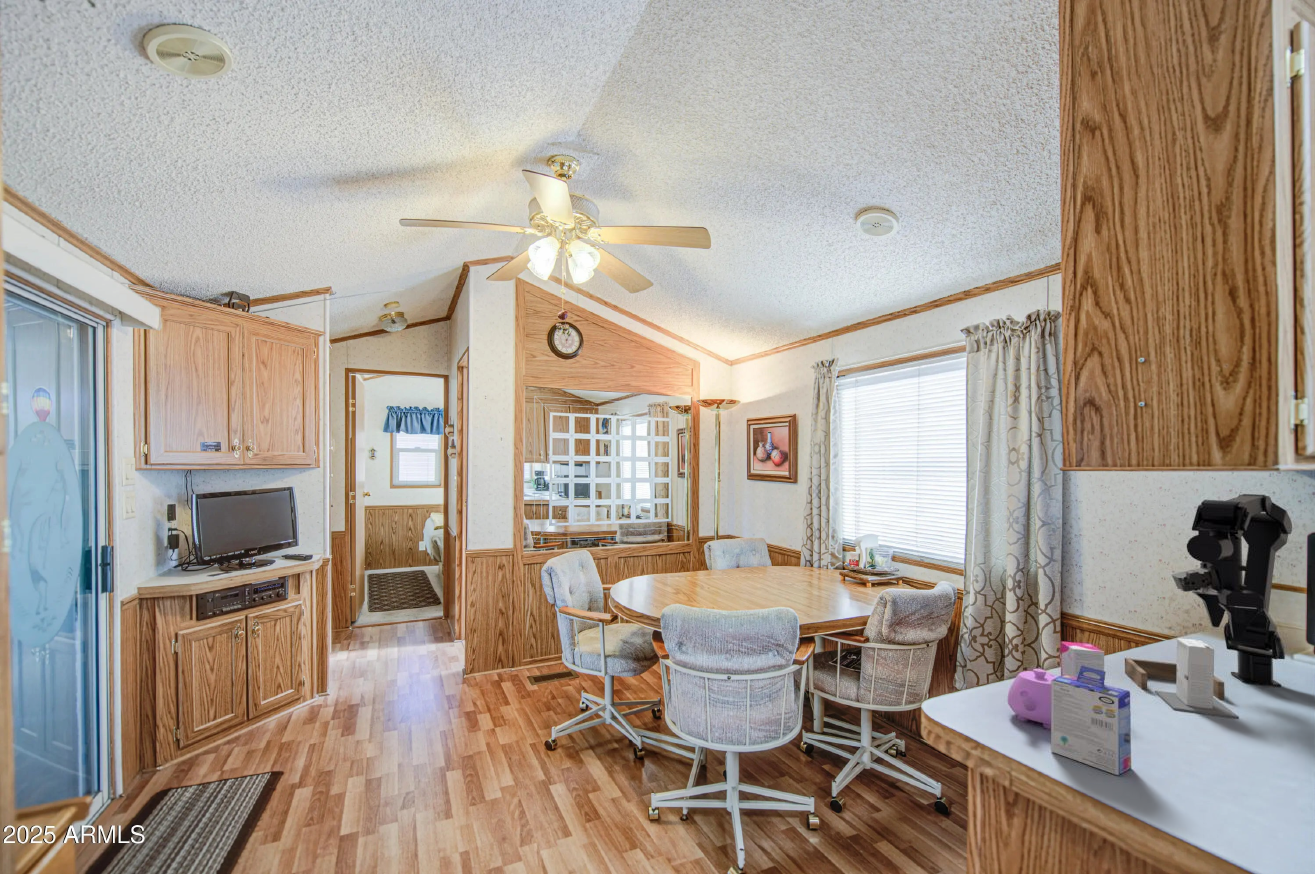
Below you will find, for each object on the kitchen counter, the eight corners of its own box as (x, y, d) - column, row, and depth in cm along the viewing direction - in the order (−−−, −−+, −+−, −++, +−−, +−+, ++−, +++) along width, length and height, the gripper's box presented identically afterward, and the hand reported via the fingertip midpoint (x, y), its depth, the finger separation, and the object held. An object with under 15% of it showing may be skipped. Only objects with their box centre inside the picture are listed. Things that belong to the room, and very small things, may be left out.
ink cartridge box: (1133, 767, 97) (1132, 675, 97) (1121, 777, 93) (1119, 682, 94) (1063, 743, 105) (1062, 658, 105) (1050, 752, 101) (1049, 664, 102)
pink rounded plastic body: (1084, 720, 115) (1083, 670, 115) (1055, 742, 105) (1054, 688, 106) (1023, 702, 123) (1023, 656, 123) (992, 721, 113) (991, 671, 114)
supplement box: (1106, 709, 120) (1105, 651, 120) (1072, 707, 121) (1071, 648, 121) (1091, 698, 125) (1090, 642, 126) (1059, 696, 126) (1058, 640, 127)
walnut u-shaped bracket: (1124, 672, 141) (1124, 657, 141) (1201, 682, 136) (1200, 666, 136) (1141, 688, 131) (1141, 672, 131) (1224, 699, 126) (1224, 682, 126)
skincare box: (1175, 695, 126) (1173, 636, 127) (1202, 699, 125) (1201, 639, 125) (1187, 706, 121) (1186, 645, 121) (1216, 710, 119) (1214, 647, 119)
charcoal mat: (1154, 692, 129) (1154, 690, 129) (1214, 699, 125) (1214, 697, 125) (1173, 709, 120) (1173, 707, 120) (1238, 718, 116) (1238, 716, 116)
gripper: (1160, 550, 142) (1161, 617, 141) (1195, 562, 124) (1197, 639, 124) (1221, 553, 137) (1222, 623, 137) (1266, 566, 120) (1268, 646, 120)
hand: (1225, 632), depth 129 cm, fingers open, 9 cm apart
